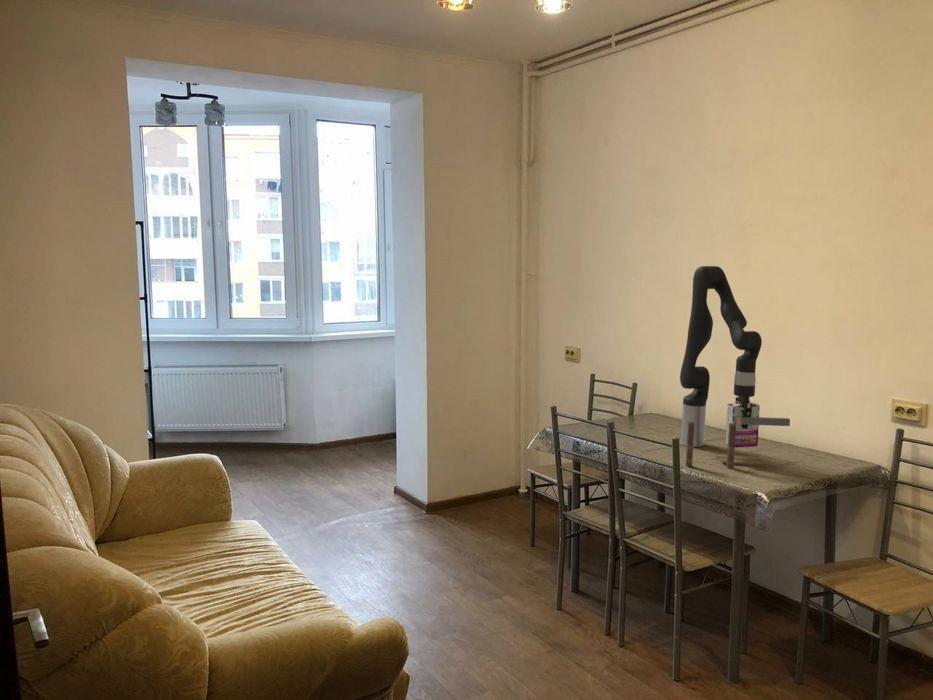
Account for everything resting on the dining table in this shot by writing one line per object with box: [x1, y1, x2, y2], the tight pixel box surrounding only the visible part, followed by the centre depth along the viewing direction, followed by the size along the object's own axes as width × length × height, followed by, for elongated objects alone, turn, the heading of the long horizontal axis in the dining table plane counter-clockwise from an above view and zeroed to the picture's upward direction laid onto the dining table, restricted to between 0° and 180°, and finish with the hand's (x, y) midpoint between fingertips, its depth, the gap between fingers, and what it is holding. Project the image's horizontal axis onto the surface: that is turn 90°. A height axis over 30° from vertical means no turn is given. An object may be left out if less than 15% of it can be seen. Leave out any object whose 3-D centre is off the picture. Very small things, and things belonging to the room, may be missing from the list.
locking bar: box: [735, 416, 791, 427], centre depth 263 cm, size 2×19×3 cm, turn 85°
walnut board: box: [714, 453, 767, 467], centre depth 275 cm, size 12×16×1 cm
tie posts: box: [685, 422, 736, 469], centre depth 265 cm, size 2×17×17 cm, turn 85°
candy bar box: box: [725, 402, 761, 448], centre depth 273 cm, size 11×5×16 cm, turn 101°
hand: (742, 426), depth 273 cm, fingers closed on candy bar box, 6 cm apart
